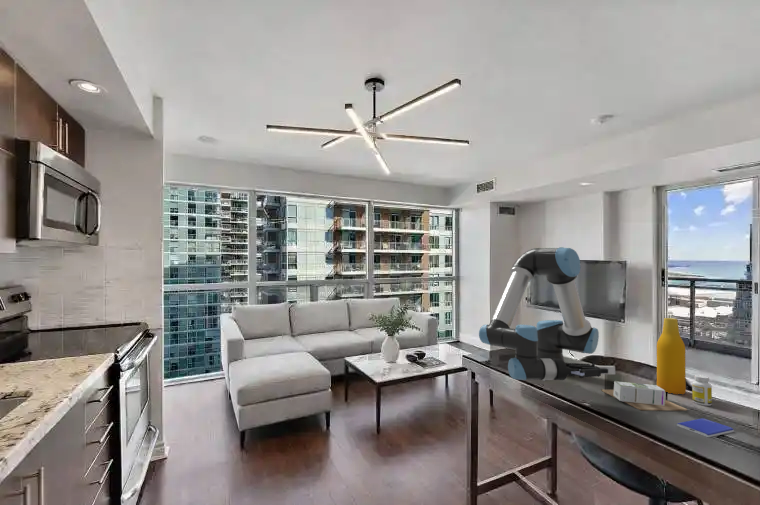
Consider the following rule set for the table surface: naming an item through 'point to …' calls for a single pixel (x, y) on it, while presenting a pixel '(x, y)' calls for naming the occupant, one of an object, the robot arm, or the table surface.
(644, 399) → the syrup box
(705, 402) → the supplement bottle
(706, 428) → the hard drive
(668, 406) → the wooden board
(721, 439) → the table surface
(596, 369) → the robot arm
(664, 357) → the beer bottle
